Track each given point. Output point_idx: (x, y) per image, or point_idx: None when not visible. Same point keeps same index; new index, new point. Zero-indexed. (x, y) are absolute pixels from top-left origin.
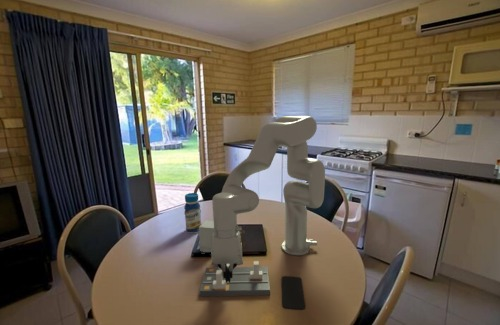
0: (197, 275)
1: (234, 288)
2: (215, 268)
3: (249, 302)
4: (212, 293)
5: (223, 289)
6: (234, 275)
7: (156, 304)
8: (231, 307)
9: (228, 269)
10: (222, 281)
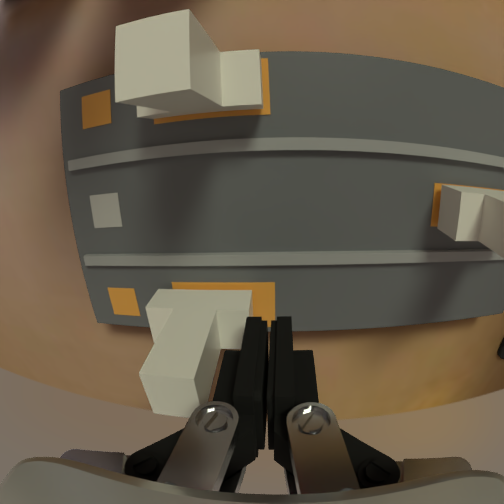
0: (43, 135)
1: (315, 315)
2: None
3: (387, 348)
4: None
5: None
6: (309, 167)
7: (3, 325)
8: None
9: (276, 456)
10: (219, 322)
